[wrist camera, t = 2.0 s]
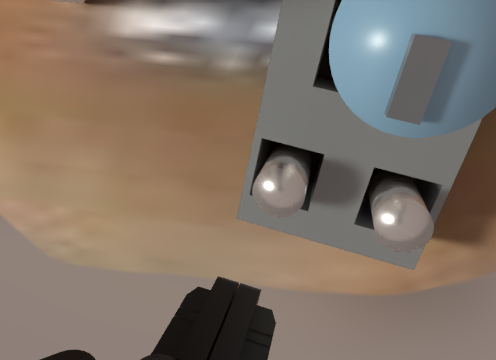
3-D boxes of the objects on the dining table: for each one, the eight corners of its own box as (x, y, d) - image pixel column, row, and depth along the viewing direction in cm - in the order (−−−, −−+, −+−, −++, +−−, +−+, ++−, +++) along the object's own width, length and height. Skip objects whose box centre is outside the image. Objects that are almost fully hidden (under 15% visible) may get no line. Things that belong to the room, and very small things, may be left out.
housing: (309, -67, 24) (301, -91, 19) (512, -30, 22) (556, -47, 17) (252, 191, 31) (236, 218, 26) (402, 233, 29) (414, 270, 25)
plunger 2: (376, 163, 25) (385, 196, 20) (422, 175, 25) (443, 211, 20) (362, 203, 26) (366, 243, 21) (406, 215, 26) (421, 259, 21)
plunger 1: (274, 137, 26) (258, 162, 21) (317, 148, 26) (311, 176, 21) (264, 177, 27) (247, 209, 22) (305, 188, 27) (297, 223, 22)
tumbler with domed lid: (350, -18, 24) (361, -91, 10) (440, 0, 23) (594, -51, 9) (325, 72, 26) (307, 117, 12) (407, 91, 26) (491, 163, 11)
